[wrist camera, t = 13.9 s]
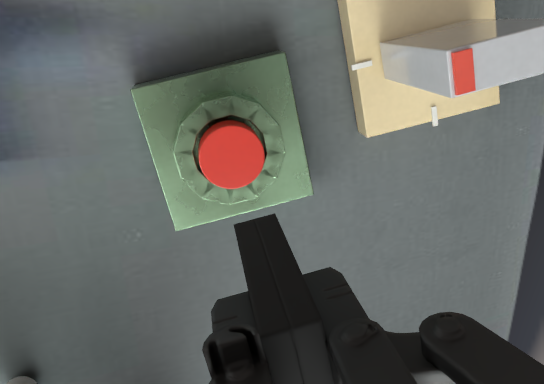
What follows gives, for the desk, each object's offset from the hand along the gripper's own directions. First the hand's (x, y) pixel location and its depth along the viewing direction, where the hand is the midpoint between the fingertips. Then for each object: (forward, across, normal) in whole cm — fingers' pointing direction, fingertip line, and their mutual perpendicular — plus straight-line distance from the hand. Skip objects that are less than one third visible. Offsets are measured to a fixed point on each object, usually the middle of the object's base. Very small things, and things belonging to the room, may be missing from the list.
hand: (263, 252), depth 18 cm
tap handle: (+16, +15, +3) cm, 22 cm away
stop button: (+15, 0, 0) cm, 15 cm away
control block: (+18, 0, 0) cm, 18 cm away
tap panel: (+18, +14, +3) cm, 24 cm away
